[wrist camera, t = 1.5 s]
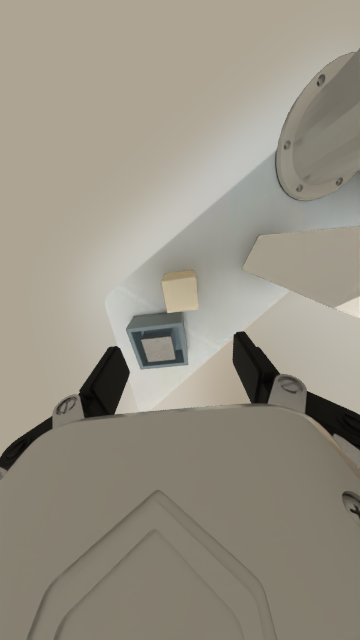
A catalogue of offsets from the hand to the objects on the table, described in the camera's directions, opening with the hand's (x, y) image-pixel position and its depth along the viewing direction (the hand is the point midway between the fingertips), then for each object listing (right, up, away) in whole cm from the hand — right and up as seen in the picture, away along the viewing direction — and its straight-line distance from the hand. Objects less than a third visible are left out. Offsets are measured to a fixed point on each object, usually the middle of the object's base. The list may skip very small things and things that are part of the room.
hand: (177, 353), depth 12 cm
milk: (+16, +14, +15) cm, 26 cm away
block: (-4, -1, +22) cm, 22 cm away
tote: (-4, -1, +23) cm, 23 cm away
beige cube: (0, +10, +17) cm, 20 cm away
